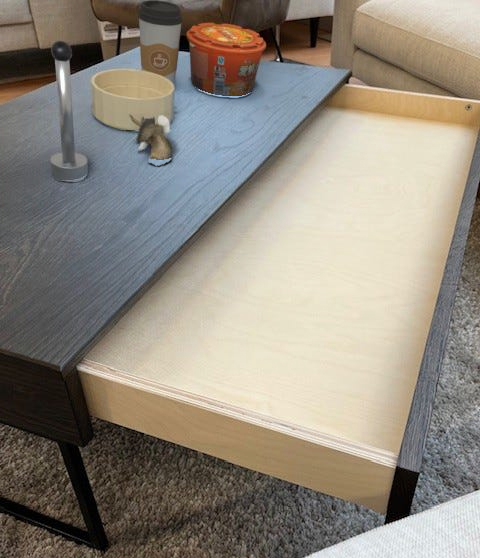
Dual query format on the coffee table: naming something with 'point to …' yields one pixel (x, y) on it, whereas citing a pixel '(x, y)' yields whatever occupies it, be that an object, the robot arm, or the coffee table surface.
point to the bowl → (130, 97)
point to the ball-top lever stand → (66, 120)
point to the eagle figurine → (154, 136)
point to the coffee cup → (160, 37)
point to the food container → (224, 58)
